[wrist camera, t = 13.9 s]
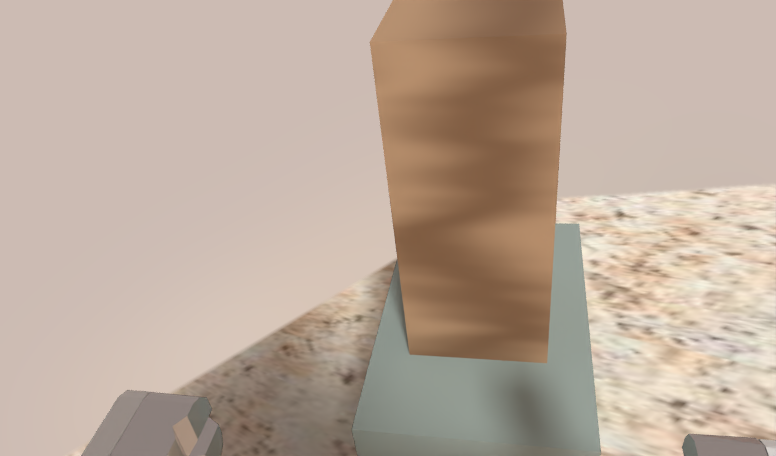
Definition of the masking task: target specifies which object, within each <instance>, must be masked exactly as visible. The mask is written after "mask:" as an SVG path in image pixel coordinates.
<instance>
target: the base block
mask: <svg viewBox="0 0 776 456" xmlns="http://www.w3.org/2000/svg"><path fill="white" fill-rule="evenodd" d="M352 434H353V438H354V442H355V447H356V451H357V455H358V456H600V455H601V448H600V438H599V427H598V417H597V406H596V396H595V386H594V375H593V365H592V354H591V344H590V333H589V323H588V313H587V302H586V292H585V281H584V271H583V260H582V250H581V239H580V229H579V224H555V238H554V255H553V272H552V289H551V306H550V323H549V340H548V357H547V363H534V362H518V361H502V360H487V359H471V358H455V357H439V356H423V355H410V354H409V346H408V338H407V330H406V322H405V314H404V306H403V298H402V291H401V283H400V275H399V267H398V259H397V261H396V265H395V269H394V273H393V276H392V280H391V284H390V288H389V291H388V295H387V299H386V302H385V306H384V310H383V314H382V317H381V321H380V325H379V329H378V332H377V336H376V340H375V344H374V347H373V351H372V355H371V359H370V362H369V366H368V370H367V374H366V377H365V381H364V385H363V389H362V392H361V396H360V400H359V404H358V407H357V411H356V415H355V419H354V422H353V426H352Z"/></svg>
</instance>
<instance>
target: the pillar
mask: <svg viewBox="0 0 776 456" xmlns="http://www.w3.org/2000/svg"><path fill="white" fill-rule="evenodd" d="M370 46H371V54H372V62H373V70H374V78H375V85H376V94H377V102H378V110H379V117H380V125H381V133H382V141H383V149H384V156H385V165H386V172H387V180H388V188H389V196H390V204H391V212H392V219H393V227H394V235H395V243H396V251H397V259H398V267H399V275H400V283H401V291H402V298H403V306H404V314H405V322H406V330H407V338H408V346H409V354H410V355H423V356H439V357H455V358H471V359H487V360H502V361H518V362H534V363H547V357H548V340H549V323H550V306H551V289H552V272H553V255H554V238H555V221H556V204H557V187H558V186H557V185H558V170H559V153H560V135H561V119H562V102H563V85H564V68H565V50H566V26H565V18H564V9H563V1H562V0H393V1H392V3H391V5H390V7H389V9H388V10H387V12H386V14H385V16H384V18H383V19H382V21H381V23H380V25H379V27H378V28H377V30H376V32H375V34H374V36H373V37H372V39H371V41H370Z"/></svg>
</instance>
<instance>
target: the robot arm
mask: <svg viewBox="0 0 776 456" xmlns="http://www.w3.org/2000/svg"><path fill="white" fill-rule="evenodd" d="M211 410H212V408H211V406H210V404H209V402H208V399H207V397H197V396H186V395H176V394H164V393H155V392H146V391H132V390H127V391H126V392H124V393H123V394H121V395H120V396H119V397H118V398H117V400H116V401H115V403H114V405H113V406H112V408H111V409H110V411H109V413H108V414H107V416H106V418H105V419H104V420H103V422H102V424H101V425H100V427H99V428H98V430H97V431H96V433H95V435H94V436H93V438H92V439H91V441H90V443H89V444H88V446H87V447H86V449H85V450H84V452H83V454H82V455H81V456H221V453H222V447H223V440H222V432H221V430H220V427H219V425H218V424H217V423H216V422H215V421H213V420H212V419H211V418H209V415H210V413H211ZM682 449H683V453H684V456H776V440H761V439H756V438H748V437H732V436H716V435H700V434H688V435H687V436H686V437H685V440H684V443H683V446H682Z"/></svg>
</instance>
